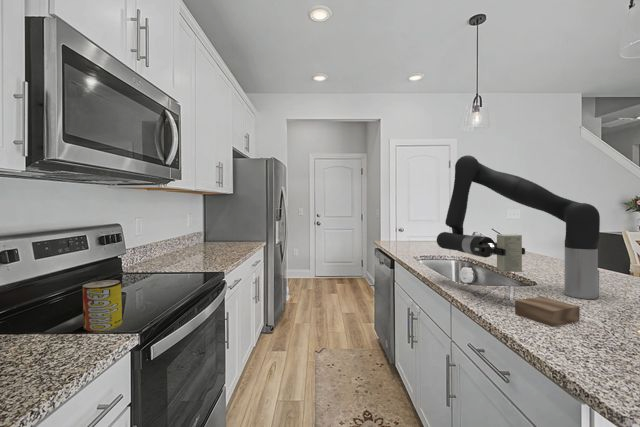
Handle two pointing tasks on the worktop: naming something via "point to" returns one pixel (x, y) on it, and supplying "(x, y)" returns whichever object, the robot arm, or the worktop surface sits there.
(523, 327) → the worktop surface
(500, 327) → the worktop surface
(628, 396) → the worktop surface
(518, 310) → the walnut block
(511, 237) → the skincare box
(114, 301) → the beverage can
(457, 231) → the robot arm
